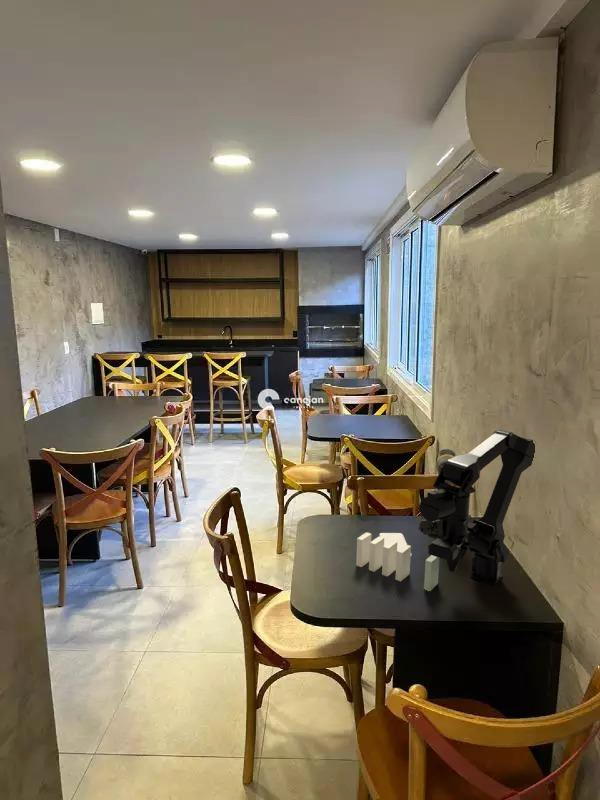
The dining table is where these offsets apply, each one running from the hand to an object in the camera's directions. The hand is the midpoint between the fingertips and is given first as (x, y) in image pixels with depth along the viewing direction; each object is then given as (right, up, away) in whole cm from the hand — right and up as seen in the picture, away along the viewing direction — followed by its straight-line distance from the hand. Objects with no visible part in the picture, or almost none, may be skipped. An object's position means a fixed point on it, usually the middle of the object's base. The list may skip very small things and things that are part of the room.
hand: (452, 571), depth 132 cm
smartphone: (-9, -2, +28) cm, 29 cm away
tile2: (-11, -4, +9) cm, 15 cm away
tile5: (-20, -3, +16) cm, 26 cm away
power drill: (+7, 0, +38) cm, 38 cm away
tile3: (-14, -4, +11) cm, 18 cm away
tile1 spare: (-4, -5, +4) cm, 8 cm away
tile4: (-17, -3, +14) cm, 22 cm away
